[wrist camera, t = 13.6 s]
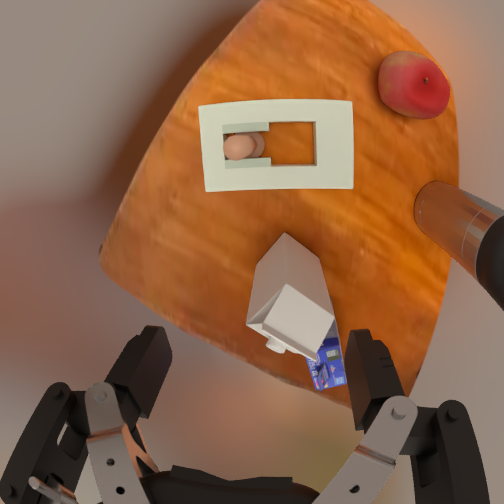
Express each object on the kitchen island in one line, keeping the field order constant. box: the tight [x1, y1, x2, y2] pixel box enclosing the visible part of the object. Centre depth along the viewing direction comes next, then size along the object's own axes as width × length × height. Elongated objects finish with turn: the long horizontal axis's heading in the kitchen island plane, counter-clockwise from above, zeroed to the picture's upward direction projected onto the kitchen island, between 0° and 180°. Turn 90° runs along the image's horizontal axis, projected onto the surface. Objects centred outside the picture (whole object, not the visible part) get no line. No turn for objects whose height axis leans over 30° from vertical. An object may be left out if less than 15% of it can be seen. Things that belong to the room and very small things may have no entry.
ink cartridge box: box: [305, 298, 346, 391], centre depth 40 cm, size 10×6×14 cm, turn 20°
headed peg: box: [223, 131, 265, 161], centre depth 31 cm, size 5×5×11 cm
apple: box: [378, 51, 450, 119], centre depth 25 cm, size 10×10×10 cm
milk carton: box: [246, 232, 335, 362], centre depth 34 cm, size 7×7×19 cm
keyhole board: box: [198, 99, 354, 192], centre depth 34 cm, size 20×12×3 cm, turn 93°
